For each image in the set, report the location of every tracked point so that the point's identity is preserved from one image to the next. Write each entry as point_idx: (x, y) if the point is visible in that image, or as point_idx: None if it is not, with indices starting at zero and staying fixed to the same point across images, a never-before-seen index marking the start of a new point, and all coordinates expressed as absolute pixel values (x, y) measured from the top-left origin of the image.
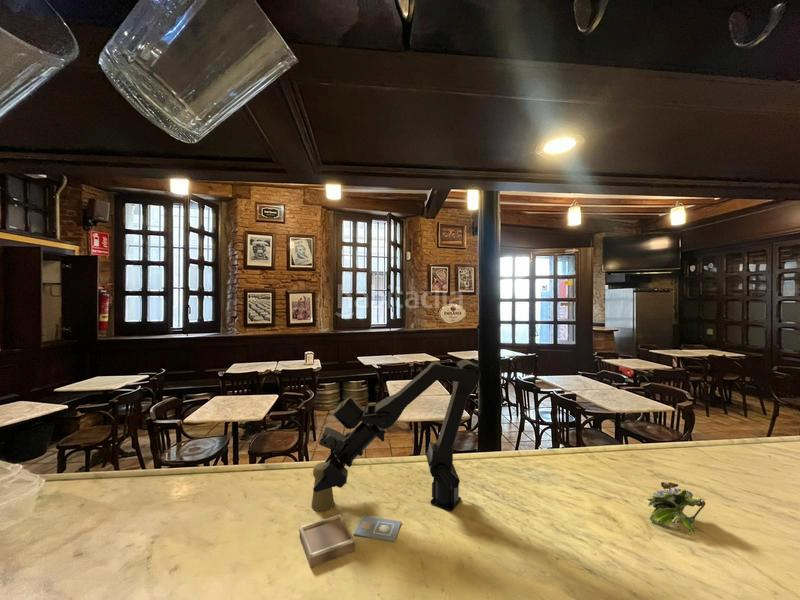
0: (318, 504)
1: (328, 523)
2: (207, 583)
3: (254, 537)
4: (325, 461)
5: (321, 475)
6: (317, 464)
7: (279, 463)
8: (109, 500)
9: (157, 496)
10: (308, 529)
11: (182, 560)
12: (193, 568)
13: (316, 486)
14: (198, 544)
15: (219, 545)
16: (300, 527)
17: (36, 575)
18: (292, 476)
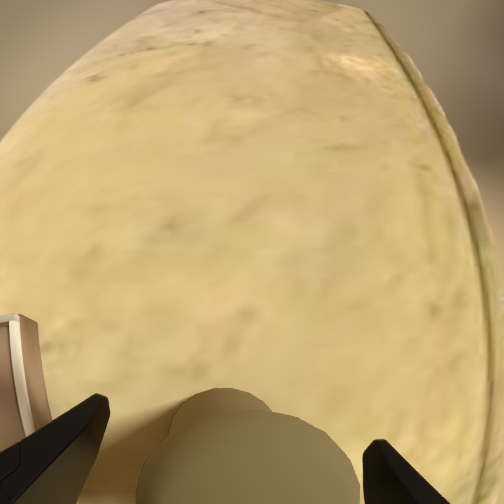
0: (173, 422)
1: (20, 433)
2: (22, 130)
3: (102, 182)
4: (419, 492)
5: (137, 489)
6: (298, 471)
7: (492, 239)
8: (324, 20)
9: (335, 44)
10: (8, 348)
11: (109, 80)
12: (74, 99)
13: (63, 417)
14: (145, 87)
15: (117, 117)
16: (10, 314)
17: (178, 4)
18: (446, 285)
